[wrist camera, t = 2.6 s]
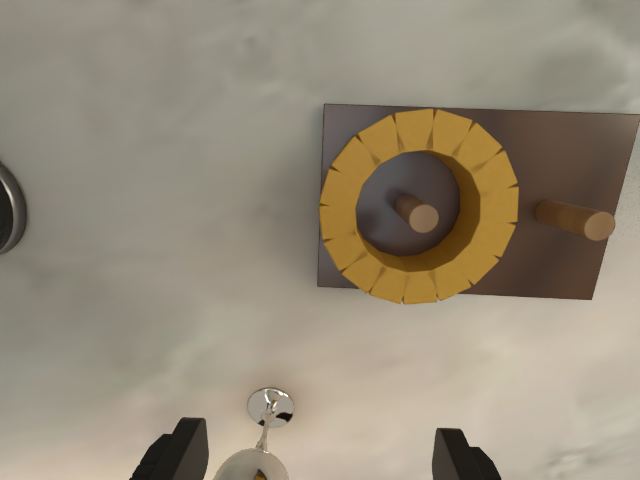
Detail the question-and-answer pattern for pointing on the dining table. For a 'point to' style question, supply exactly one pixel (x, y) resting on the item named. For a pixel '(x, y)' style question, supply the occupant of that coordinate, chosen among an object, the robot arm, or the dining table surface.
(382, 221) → the rack
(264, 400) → the wineglass
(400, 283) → the yellow segmented ring
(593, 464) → the dining table surface
